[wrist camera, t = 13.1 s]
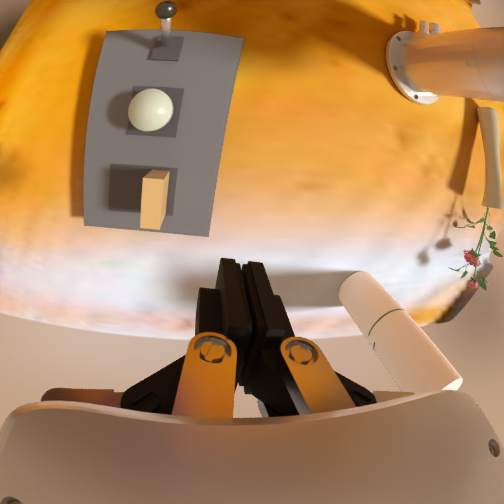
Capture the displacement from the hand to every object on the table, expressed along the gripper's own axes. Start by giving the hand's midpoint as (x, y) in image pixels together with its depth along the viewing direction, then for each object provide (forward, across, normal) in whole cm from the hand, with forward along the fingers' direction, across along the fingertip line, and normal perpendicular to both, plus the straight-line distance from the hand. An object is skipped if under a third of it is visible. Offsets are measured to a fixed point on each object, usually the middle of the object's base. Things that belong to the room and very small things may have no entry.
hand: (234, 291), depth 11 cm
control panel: (+24, +8, -5) cm, 26 cm away
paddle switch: (+21, +6, +2) cm, 22 cm away
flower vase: (+26, -48, -10) cm, 55 cm away
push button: (+20, +8, -7) cm, 23 cm away
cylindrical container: (+25, -26, +15) cm, 39 cm away
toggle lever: (+20, +9, -14) cm, 26 cm away
